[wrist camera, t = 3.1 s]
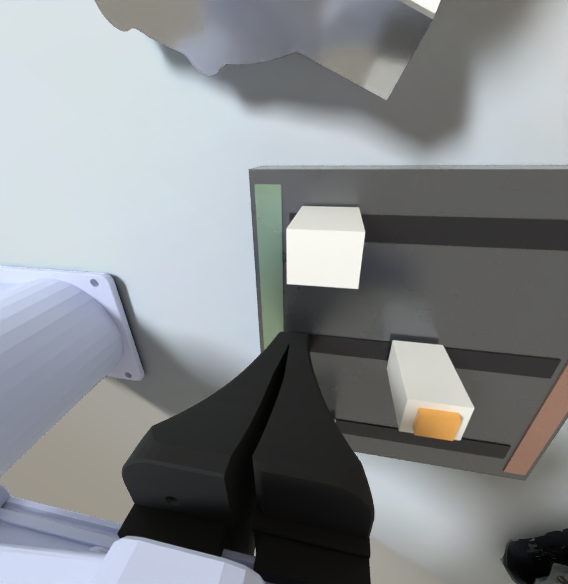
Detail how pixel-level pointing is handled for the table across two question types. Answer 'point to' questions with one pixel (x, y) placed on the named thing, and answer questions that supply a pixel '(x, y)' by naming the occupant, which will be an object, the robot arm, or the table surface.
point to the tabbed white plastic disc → (286, 32)
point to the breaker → (325, 247)
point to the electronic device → (536, 560)
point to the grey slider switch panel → (431, 300)
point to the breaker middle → (427, 391)
